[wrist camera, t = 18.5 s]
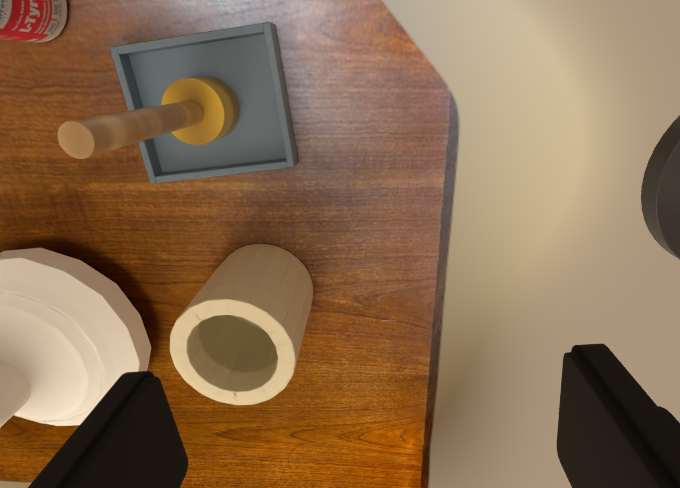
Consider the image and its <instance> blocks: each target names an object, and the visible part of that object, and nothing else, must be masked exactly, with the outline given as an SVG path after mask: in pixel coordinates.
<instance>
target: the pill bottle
mask: <svg viewBox="0 0 680 488" xmlns="http://www.w3.org/2000/svg"><path fill="white" fill-rule="evenodd" d="M66 19H67V3H66V0H0V39H3V40H13V41H24V42H46V41H50V40H52V39H54V38H55V37H57V36H58V35H59V34H60V33H61V31H62V30H63V28H64V26H65V23H66Z"/></svg>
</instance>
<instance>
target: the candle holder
mask: <svg viewBox="0 0 680 488" xmlns="http://www.w3.org/2000/svg"><path fill="white" fill-rule="evenodd" d="M150 353H151V345H150V342H149V339H148V336H147V333H146V330H145V327H144V325H143V322H142V319H141V316H140V314H139V313H138V312H137V310H136V309H135V308H134V306H133V305H132V304H131V302H130V301H129V300H128V298H127V297H126V296H125V294H124V293H123V292H122V290H121V289H120V288H119V286H118V285H117V284H116V283H115V282H113V281H111V280H110V279H108V278H107V277H105V276H104V275H102V274H101V273H99V272H98V271H96V270H95V269H93V268H92V267H90V266H89V265H87V264H85V263H84V262H82V261H81V260H78V259H75V258H72V257H69V256H65V255H62V254H59V253H56V252H53V251H50V250H46V249H43V248H31V249H20V250H10V251H3V252H1V253H0V427H1V426H3V425H4V424H5V423H6V422H7V421H8V420H9V419H10V418H11V417H12V416H13V415H15V416H19V417H22V418H25V419H29V420H32V421H36V422H39V423H47V424H51V425H55V426H68V425H80V424H81V423H82V422H83V421H84V420H85V418H86V417H87V416H88V415H89V414H90V412H91V411H92V410H93V409H94V408H95V406H96V405H97V404H98V403H99V402H100V400H101V399H102V398H103V397H104V395H105V394H106V393H107V392H108V391H109V389H110V388H111V387H112V386H113V385H114V383H115V382H116V381H117V380H118V379H119V377H120V376H121V375H122V374H124V373H126V372H139V371H147V370H148V364H149V358H150Z"/></svg>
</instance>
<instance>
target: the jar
mask: <svg viewBox="0 0 680 488" xmlns="http://www.w3.org/2000/svg"><path fill="white" fill-rule="evenodd" d="M312 300H313V284H312V280H311V277H310V275H309V273H308V271H307V269H306V268H305V266H304V265H303V263H302V262H301V261H300V260H299V259H298V258H296V257H295V256H294V255H293V254H291V253H290V252H288V251H286V250H284V249H282V248H280V247H277V246H273V245H268V244H252V245H247V246H244V247H241V248H239V249H237V250H235V251H234V252H232V253H231V254H230V255H229V256H228V257H227V258H226V259H225V260H224V261H223V262H222V263H221V264H220V265H219V267H218V268H217V269H216V271H215V272H214V273H213V274H212V276H211V277H210V278H209V279H208V281H207V282H206V283H205V284H204V286H203V287H202V288H201V289H200V291H199V292H198V293H197V295H196V296H195V297H194V298H193V300H192V301H191V302H190V303H189V305H188V306H187V307H186V309H185V310H184V311H183V312H182V314H181V315H180V316H179V317H178V319H177V320H176V322H175V325H174V327H173V329H172V331H171V335H170V353H171V356H172V359H173V362H174V365H175V368H176V369H177V370H178V372H179V373H180V375H181V376H182V377H183V379H184V380H185V381H186V382H187V383H188V384H189V385H191V386H192V387H193V388H194V389H196V390H197V391H198V392H199V393H201V394H203V395H205V396H207V397H209V398H211V399H214V400H216V401H218V402H223V403H228V404H233V405H250V404H257V403H260V402H263V401H266V400H269V399H271V398H273V397H274V396H275V395H277V394H278V393H279V392H281V391H282V390H283V389H284V388H285V387H286V385H287V384H288V382H289V381H290V379H291V378H292V376H293V374H294V370H295V366H296V362H297V358H298V355H299V351H300V347H301V343H302V340H303V336H304V332H305V328H306V324H307V321H308V317H309V313H310V309H311V305H312Z"/></svg>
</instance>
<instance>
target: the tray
mask: <svg viewBox="0 0 680 488" xmlns="http://www.w3.org/2000/svg"><path fill="white" fill-rule="evenodd" d="M110 50H111V54H112V57H113V60H114V64H115V67H116V70H117V74H118V77H119V80H120V84H121V87H122V90H123V94H124V97H125V100H126V104H127V107H128V110H134V109H141V108H147V107H153V106H159V105H161V103H162V98H163V95H164V93H165V91H166V89H167V88H168V87H169V86H170V85H171V84H172V83H173V82H175V81H177V80H179V79H183V78H197V77H212V78H216V79H219V80H221V81H223V82H224V83H226V84H227V85H228V86H229V87H230V88H231V89H232V91H233V92H234V94H235V96H236V98H237V100H238V104H239V119H238V122H237V124H236V126H235V128H234V129H233V130H232V131H231V132H230V133H229V134H227V135H225V136H223V137H221V138H219V139H216V140H214V141H212V142H210V143H207V144H204V145H191V144H187V143H185V142H183V141H181V140H179V139H178V138H176V137H175V136H174V135H173V134H172V133H171V132H170V133H167V134H163V135H160V136H157V137H154V138H150V139H147V140H144V141H141V142H138V144H139V147H140V150H141V154H142V157H143V160H144V164H145V167H146V170H147V174H148V177H149V180H150V183H151V184H154V183H163V182H172V181H180V180H189V179H198V178H206V177H215V176H223V175H232V174H241V173H249V172H258V171H267V170H275V169H284V168H293V167H295V166H296V165H297V163H298V157H297V151H296V145H295V139H294V133H293V127H292V121H291V115H290V109H289V103H288V97H287V91H286V85H285V79H284V73H283V67H282V61H281V55H280V49H279V43H278V36H277V30H276V25H274V24H272V23H270V22H267V23H263V24H262V23H261V24H255V25H248V26H242V27H236V28H229V29H223V30H217V31H210V32H204V33H197V34H191V35H185V36H178V37H172V38H166V39H159V40H153V41H147V42H140V43H134V44H128V45H121V46H115V47H110Z"/></svg>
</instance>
